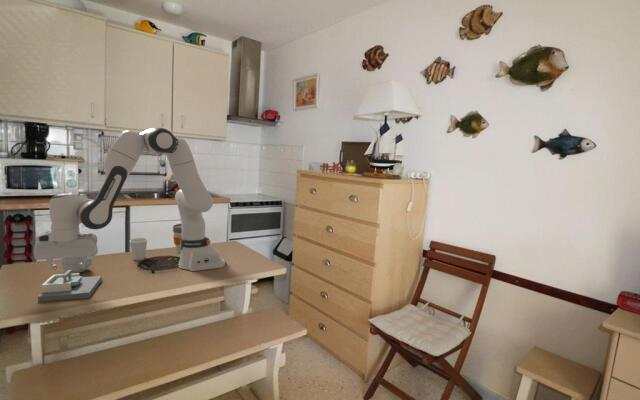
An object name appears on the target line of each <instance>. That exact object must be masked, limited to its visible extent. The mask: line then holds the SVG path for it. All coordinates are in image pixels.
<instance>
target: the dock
mask: <svg viewBox="0 0 640 400" xmlns="http://www.w3.org/2000/svg"><path fill="white" fill-rule="evenodd" d="M63 274H64V273H63ZM63 274H62V273H61V274H60V273H58V274H52V276H50V277H49V278H48V279H47V280H45V281H44V282H43V283H42V284H41V285H40V286H41V293H40V294H39V295H38V296H37V302H39V303H40V302H51V301H64V300H74V299H75V300H76V299H86V298H89V299H90V297H91V296H92V295H93V293H94V292H95V290H96V289H97V288H98V286H99V285H100V283H101V282H102V281H103V276H102V275H96V276H95V275H94V276H82V280H81V282H80V283H79V284H78V285H77V286H76V287H72V286H71V282H66V283H53V282H54V281H55V280H56V279H58V278H62V277H63V276H62V275H63ZM78 276H81V272H80V273H71V277H78ZM67 277H68V276H67Z"/></svg>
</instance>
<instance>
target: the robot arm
mask: <svg viewBox="0 0 640 400" xmlns="http://www.w3.org/2000/svg"><path fill="white" fill-rule="evenodd" d="M145 152H147V153H148V152H149V153H152V154H164V155H165V156H166V158H167V161H168V164H169V167H170V170H171V173H172V175H173V176H172V177H173V179H174V181H175V183H176V184H177V185H178V187H179V189H178V190H177V191H176V193H175V195H174V200H175V203H176V204H177V207H178V212H179V216H180V222H181V223H180V224H181V225H182V238H181V242H180V245H181V254H180V257H179V262H178V265H179V266H178V268H179V269H182V270H186V271H187V270H188V271H190V272H197V271H206V270H215V269H220V268H224V267H225V265H226V262H225V259H224V258H222V257H221V253H220V251H219V250H218V249H217V248H216V247H214V246H212V245H211V240H210V238H209V237H206V221H205V219H204V217H203V213H207V212H208V211H210V210H211V209H212V207H213V205H214V199H213V196H212V195H211V194H210V193H209V191H208V190H207V188H206V186H205V184H204V183H203V181H202V179H201V177H200V174H199V171H198V169H197V166H196V162H195V159H194V156H193V153H192V150H191V149H190V146H189V144H188V142H187V141H186V139H183V138H179V137H176V136H175V135H174V134H173V133H172V131H170V130H168V129H166V128H163V127H150V128H145V129H143V130H141V131H139V132H136V131H134V130H124V131H122V132H121V133H120V134H119V135H118V137H117V138H116V139H115V141H114V142H113V143H112V144H111V146H110V148H109V149H108V151H107V152H106V154H105V157H104V160H103V168H104V172H105V176H104V177H105V178H104V181H103V184H102V185H101V187H100V189H99V191H98V194H97V196H95V199H90V198H87V197H83V196H80V195H78V194H76V193H74V192H61V193H59V194H56V195H55V194H54V195H53V196H51V198H50V201H49V207H48V208H49V209H48V210H49V218H50V221H51V225H50V230H48V231H45V232H42V233H40V234H38V235H37V236H35V242H36V243H35V244H34V245H33V257H34V259H35V260H36V261H44V260H46V263H47V264H48V265H49V266H50V270H51V271H54V270H57V269H58V265H57V263H54V262H53V260H57V259H58V260H59V259H61V260H62V258H79V257H82V260H84V261H83V262H82V263H80V264H79V266H80V267H79V268H84V267H85V262H86V260H87V259H88V257H90V258H93V257H95V256H96V255H97V254H99V253H98V252H99V249H98V245H97V243H98V237H97V235H95V234H93V233H91V232H90V233H80V224H83V227H86V228H87V229H90V230H100V229H101V230H102V229H103V228H106V227H107V226H108V225H109V224H110V223H111V221H112V218H113V209H114V205H115V203H116V201H117V198H118V196H119V194H120V193H121V190H122V189H123V187H124V185H125V182H126V181H127V179H128V177H129V175H130V174H131V172H133V169H134V168H135V166H136V165H137V163H138V161H139V158H140V157H141V155H142V154H144V153H145Z"/></svg>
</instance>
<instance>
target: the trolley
mask: <svg viewBox="0 0 640 400" xmlns="http://www.w3.org/2000/svg"><path fill="white" fill-rule="evenodd" d="M71 272H72V270H68V271H67V272H66V271H64V273H63V275H62V276H63V277H62V278H58V279H56V280H55V281H54V282H53V283H66V282H71V286H72V287H76V286H77V285H78V284H79V283H80V282H81V280H82V277H83V276H82V275H80V276H78V277H71V274H72V273H71ZM67 276H68V277H67Z"/></svg>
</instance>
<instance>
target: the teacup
mask: <svg viewBox="0 0 640 400" xmlns="http://www.w3.org/2000/svg"><path fill="white" fill-rule="evenodd" d="M83 261H84V260H82V257H79V258H62V259H61V268H62V269H63V271H64V272H67V271H68V270H72V272H71V274H74V273H80V274H81V273H83V272H85V271H87V270H88V269H89V268H90V266H91V265H92V264H93V261H92V257H88V259H87V260H86V262H85V267H84V268H79V267H80V266H79V264H80V263H82V262H83Z"/></svg>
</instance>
